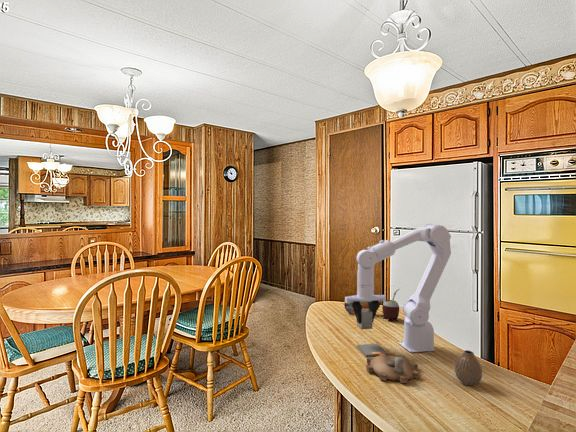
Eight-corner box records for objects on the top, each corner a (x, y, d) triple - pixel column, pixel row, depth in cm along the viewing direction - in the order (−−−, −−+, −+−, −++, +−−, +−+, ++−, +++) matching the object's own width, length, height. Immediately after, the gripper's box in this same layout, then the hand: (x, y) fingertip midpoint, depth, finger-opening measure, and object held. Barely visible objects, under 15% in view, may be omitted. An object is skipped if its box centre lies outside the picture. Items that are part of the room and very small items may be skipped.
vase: (481, 391, 91) (482, 359, 91) (453, 384, 95) (453, 353, 94) (482, 380, 97) (483, 350, 97) (455, 373, 101) (456, 344, 100)
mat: (377, 345, 121) (377, 343, 121) (388, 354, 113) (388, 352, 113) (356, 346, 119) (356, 344, 119) (366, 356, 111) (366, 354, 111)
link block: (367, 324, 122) (367, 308, 122) (372, 328, 118) (372, 311, 118) (357, 325, 121) (357, 308, 121) (361, 329, 118) (361, 312, 117)
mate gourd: (384, 315, 153) (385, 283, 152) (402, 319, 149) (403, 285, 148) (380, 320, 146) (380, 286, 146) (398, 324, 142) (399, 288, 142)
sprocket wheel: (404, 356, 111) (404, 340, 111) (430, 381, 96) (430, 362, 95) (358, 359, 109) (358, 342, 109) (377, 384, 93) (378, 365, 93)
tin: (344, 314, 155) (344, 295, 155) (344, 311, 158) (344, 294, 158) (377, 316, 153) (378, 297, 152) (377, 313, 156) (377, 295, 156)
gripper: (379, 280, 124) (379, 317, 125) (342, 282, 122) (341, 319, 122) (388, 285, 117) (388, 324, 118) (349, 287, 115) (348, 326, 115)
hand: (365, 322), depth 120 cm, fingers closed on link block, 4 cm apart
